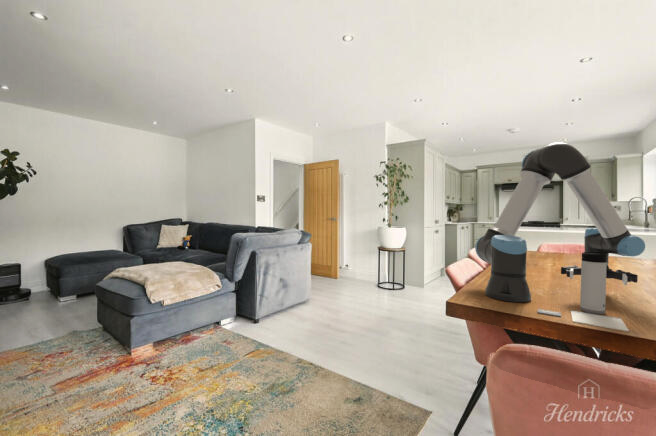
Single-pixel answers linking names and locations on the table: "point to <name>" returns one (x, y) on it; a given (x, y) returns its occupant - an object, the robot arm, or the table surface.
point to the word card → (549, 312)
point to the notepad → (598, 320)
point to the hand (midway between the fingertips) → (597, 277)
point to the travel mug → (593, 282)
